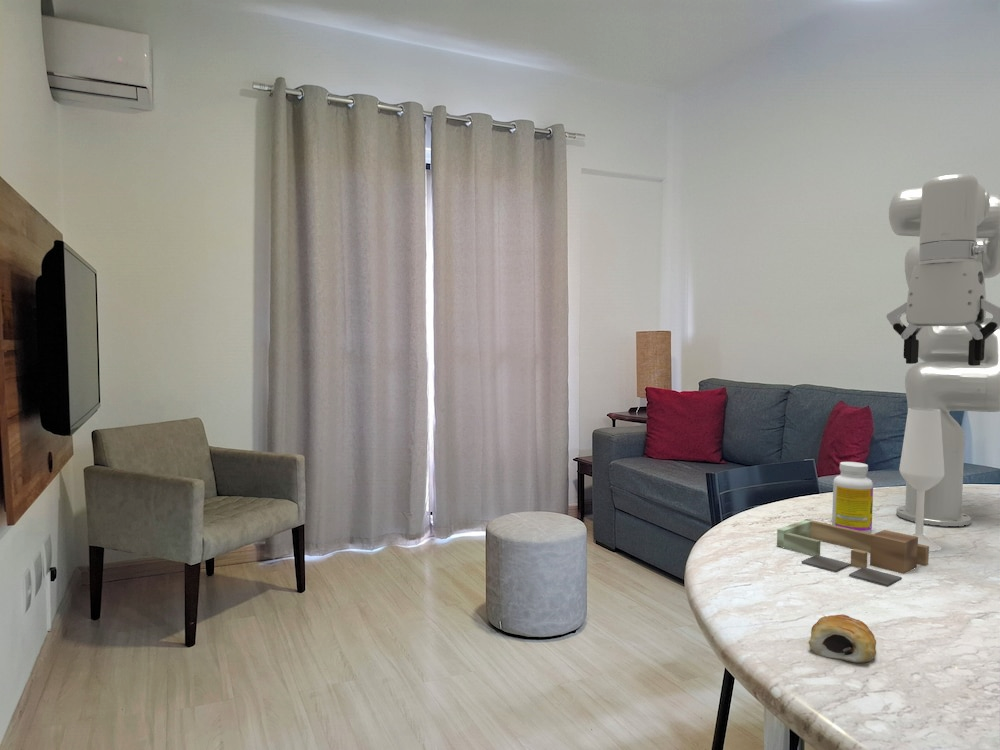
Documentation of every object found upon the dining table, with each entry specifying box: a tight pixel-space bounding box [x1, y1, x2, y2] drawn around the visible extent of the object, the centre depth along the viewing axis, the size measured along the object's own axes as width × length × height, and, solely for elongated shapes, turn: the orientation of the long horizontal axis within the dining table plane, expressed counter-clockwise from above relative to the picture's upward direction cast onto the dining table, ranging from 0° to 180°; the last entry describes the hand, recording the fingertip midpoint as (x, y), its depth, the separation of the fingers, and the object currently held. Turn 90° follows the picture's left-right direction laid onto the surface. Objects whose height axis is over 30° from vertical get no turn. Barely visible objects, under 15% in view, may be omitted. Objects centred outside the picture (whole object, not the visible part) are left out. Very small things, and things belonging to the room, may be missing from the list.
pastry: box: [808, 614, 877, 664], centre depth 80 cm, size 9×7×4 cm
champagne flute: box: [898, 407, 945, 552], centre depth 117 cm, size 7×7×24 cm
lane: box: [776, 519, 930, 587], centre depth 111 cm, size 15×20×3 cm
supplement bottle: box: [831, 461, 874, 534], centre depth 126 cm, size 7×7×13 cm
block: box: [869, 529, 918, 575], centre depth 107 cm, size 5×5×5 cm
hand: (942, 364), depth 108 cm, fingers open, 8 cm apart
